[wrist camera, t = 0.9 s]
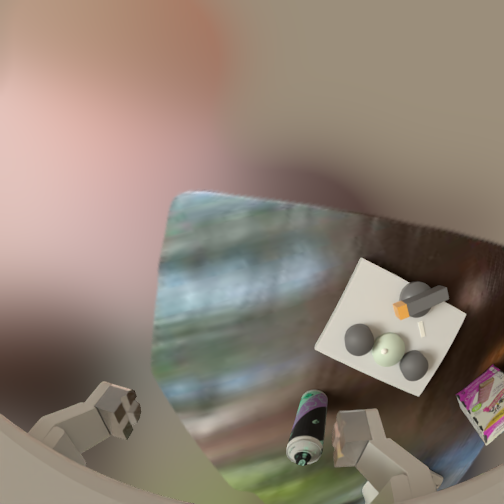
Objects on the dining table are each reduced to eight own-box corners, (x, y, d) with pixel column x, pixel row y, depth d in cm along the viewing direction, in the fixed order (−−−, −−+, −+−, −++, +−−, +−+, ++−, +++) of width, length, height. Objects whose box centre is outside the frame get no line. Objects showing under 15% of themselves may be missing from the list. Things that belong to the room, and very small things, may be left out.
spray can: (324, 386, 49) (316, 446, 30) (330, 408, 49) (324, 471, 30) (297, 392, 51) (278, 451, 32) (304, 413, 50) (287, 476, 31)
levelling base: (460, 311, 42) (473, 317, 36) (415, 390, 44) (422, 403, 38) (360, 257, 48) (364, 258, 42) (315, 344, 50) (313, 354, 44)
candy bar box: (492, 362, 39) (530, 390, 23) (497, 377, 38) (532, 407, 22) (453, 394, 41) (482, 432, 25) (459, 408, 40) (486, 447, 25)
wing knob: (432, 273, 41) (443, 275, 36) (440, 305, 41) (451, 310, 35) (387, 291, 44) (394, 295, 38) (395, 323, 43) (403, 331, 38)
